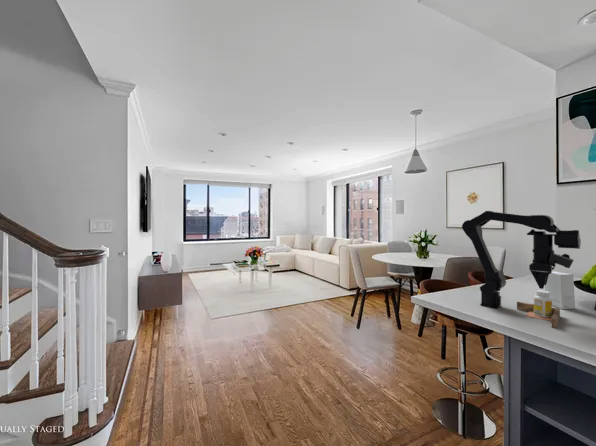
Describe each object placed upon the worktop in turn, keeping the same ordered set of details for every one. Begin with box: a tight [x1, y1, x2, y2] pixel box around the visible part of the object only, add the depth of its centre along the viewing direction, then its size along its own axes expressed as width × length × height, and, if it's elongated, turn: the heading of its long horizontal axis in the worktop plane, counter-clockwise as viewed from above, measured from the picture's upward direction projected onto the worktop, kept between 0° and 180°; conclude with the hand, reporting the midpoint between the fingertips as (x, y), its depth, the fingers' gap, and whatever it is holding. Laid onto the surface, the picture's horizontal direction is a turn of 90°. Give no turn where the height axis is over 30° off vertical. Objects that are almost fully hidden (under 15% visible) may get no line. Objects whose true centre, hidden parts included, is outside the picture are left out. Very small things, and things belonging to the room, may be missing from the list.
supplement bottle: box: [533, 289, 553, 318], centre depth 109 cm, size 5×5×10 cm
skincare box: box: [544, 270, 576, 310], centre depth 121 cm, size 8×6×15 cm
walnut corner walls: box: [516, 301, 561, 329], centre depth 107 cm, size 13×17×3 cm
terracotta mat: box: [525, 311, 553, 322], centre depth 109 cm, size 8×8×1 cm
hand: (543, 286), depth 108 cm, fingers open, 9 cm apart
